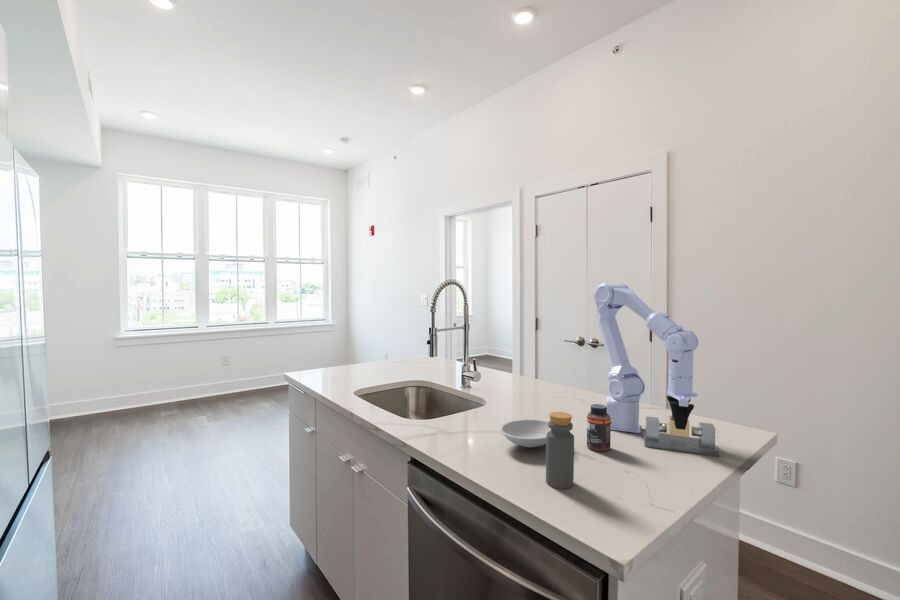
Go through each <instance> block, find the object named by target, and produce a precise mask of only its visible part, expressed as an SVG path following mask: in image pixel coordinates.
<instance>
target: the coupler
mask: <svg viewBox="0 0 900 600" xmlns="http://www.w3.org/2000/svg"><path fill="white" fill-rule="evenodd" d="M668 433H669V435H675V436H683V437H690V420H689V419H688V421H687V425H686V428H685V430H683V429H676V426H675V422H674V416H672V415H669V416H668Z"/></svg>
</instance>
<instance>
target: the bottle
mask: <svg viewBox="0 0 900 600" xmlns="http://www.w3.org/2000/svg"><path fill="white" fill-rule="evenodd" d="M572 417H573V415H572V414H570V413H569V412H564V411H551V412H550V413H549V419H550V420H548V421H549V422H548V426H549V428H551V431H549V432H548V433H547V436H546V444H545V449H546V450H545V483H546V484H547V485H548V486H549V487H552V488H555V489H560V490H567V489H568V490H569V489H570V488H572V487H573V486H574V475H575V474H574V473H575V472H574V471H575V468H574V467H575V436H574V434H573V433H572V432H571V431H572V430H573V429H574V428H573V427H574V425H573V423H572Z"/></svg>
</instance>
